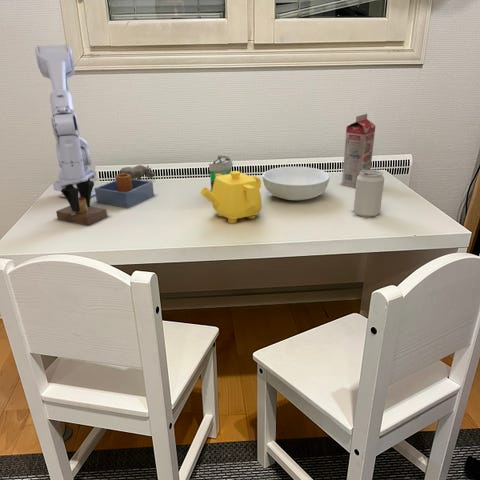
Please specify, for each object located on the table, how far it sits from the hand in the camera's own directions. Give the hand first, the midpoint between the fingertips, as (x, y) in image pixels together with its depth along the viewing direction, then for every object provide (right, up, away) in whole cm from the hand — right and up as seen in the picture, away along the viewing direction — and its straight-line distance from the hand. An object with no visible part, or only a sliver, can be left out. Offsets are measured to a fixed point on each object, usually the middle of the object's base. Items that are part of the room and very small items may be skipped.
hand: (81, 208), depth 145 cm
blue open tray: (+9, +7, +17) cm, 21 cm away
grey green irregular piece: (+40, +11, +23) cm, 48 cm away
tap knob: (0, -1, 0) cm, 1 cm away
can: (+82, -1, +1) cm, 82 cm away
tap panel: (0, -2, +3) cm, 3 cm away
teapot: (+43, -2, +1) cm, 43 cm away
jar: (+9, +7, +17) cm, 21 cm away
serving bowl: (+63, +7, +16) cm, 66 cm away
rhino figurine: (+10, +16, +33) cm, 38 cm away
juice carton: (+85, +14, +26) cm, 90 cm away
